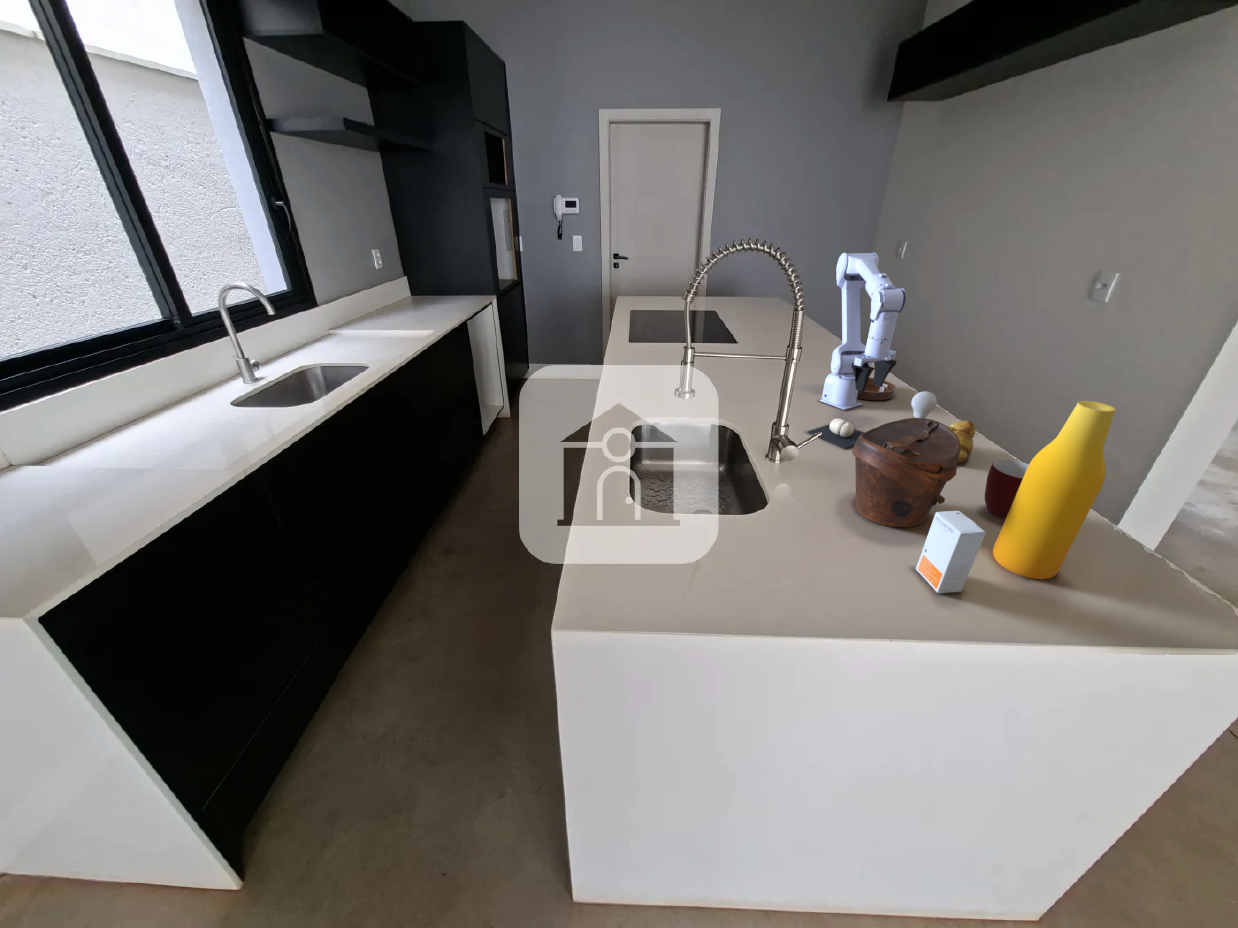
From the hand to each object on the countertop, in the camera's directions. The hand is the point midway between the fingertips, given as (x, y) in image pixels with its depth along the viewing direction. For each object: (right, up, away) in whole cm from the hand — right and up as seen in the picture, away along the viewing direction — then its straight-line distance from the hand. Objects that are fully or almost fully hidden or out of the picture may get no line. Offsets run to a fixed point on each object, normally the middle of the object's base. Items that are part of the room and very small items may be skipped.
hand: (868, 387), depth 135 cm
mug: (+9, -31, -36) cm, 49 cm away
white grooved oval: (-9, -13, -3) cm, 16 cm away
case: (-14, -31, -35) cm, 48 cm away
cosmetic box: (-15, -40, -53) cm, 68 cm away
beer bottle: (+2, -38, -49) cm, 62 cm away
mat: (-9, -13, -2) cm, 16 cm away
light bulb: (+15, -10, +3) cm, 18 cm away
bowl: (+13, +2, +26) cm, 29 cm away
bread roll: (+12, -19, -13) cm, 26 cm away
